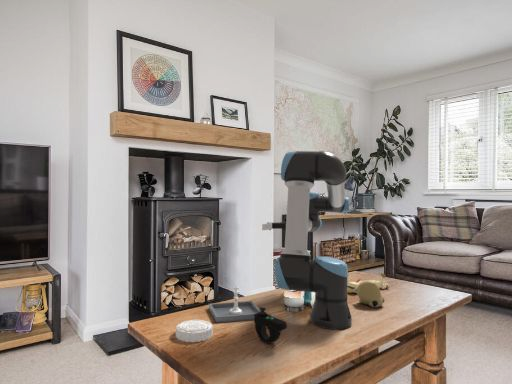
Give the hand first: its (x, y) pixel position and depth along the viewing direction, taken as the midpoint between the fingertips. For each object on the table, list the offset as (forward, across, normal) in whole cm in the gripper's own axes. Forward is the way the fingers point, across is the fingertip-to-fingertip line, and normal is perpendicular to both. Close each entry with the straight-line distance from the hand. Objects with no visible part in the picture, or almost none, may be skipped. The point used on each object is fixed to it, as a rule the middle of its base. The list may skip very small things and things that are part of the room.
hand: (275, 228), depth 156 cm
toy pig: (-26, -32, -32) cm, 52 cm away
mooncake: (+46, +1, -32) cm, 56 cm away
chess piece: (+21, +4, -32) cm, 38 cm away
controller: (+35, -22, -32) cm, 52 cm away
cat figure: (-47, -23, -32) cm, 62 cm away
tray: (+21, +4, -32) cm, 38 cm away
